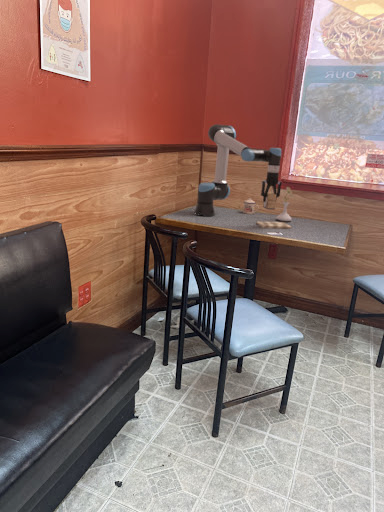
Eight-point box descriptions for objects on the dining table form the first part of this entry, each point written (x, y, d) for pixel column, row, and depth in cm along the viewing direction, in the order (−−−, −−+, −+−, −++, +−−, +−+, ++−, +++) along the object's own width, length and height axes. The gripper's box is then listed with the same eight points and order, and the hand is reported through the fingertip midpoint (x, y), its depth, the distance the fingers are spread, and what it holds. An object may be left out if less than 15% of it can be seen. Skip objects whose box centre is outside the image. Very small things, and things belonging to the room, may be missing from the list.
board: (262, 228, 266) (263, 225, 265) (256, 223, 279) (256, 221, 279) (291, 228, 269) (291, 226, 269) (283, 224, 283) (283, 222, 282)
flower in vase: (291, 223, 290) (296, 188, 283) (275, 221, 292) (280, 187, 285) (291, 219, 302) (295, 186, 295) (275, 218, 304) (280, 185, 297)
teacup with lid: (241, 213, 315) (242, 198, 312) (244, 211, 323) (246, 197, 320) (256, 215, 311) (257, 200, 308) (258, 213, 319) (260, 198, 316)
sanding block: (274, 209, 266) (276, 194, 263) (267, 209, 265) (269, 194, 262) (269, 207, 274) (271, 192, 272) (263, 207, 273) (264, 192, 271)
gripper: (262, 171, 258) (258, 207, 264) (288, 173, 261) (283, 208, 268) (258, 170, 265) (254, 205, 271) (283, 172, 268) (279, 206, 275)
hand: (268, 206), depth 269 cm, fingers closed on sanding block, 5 cm apart
